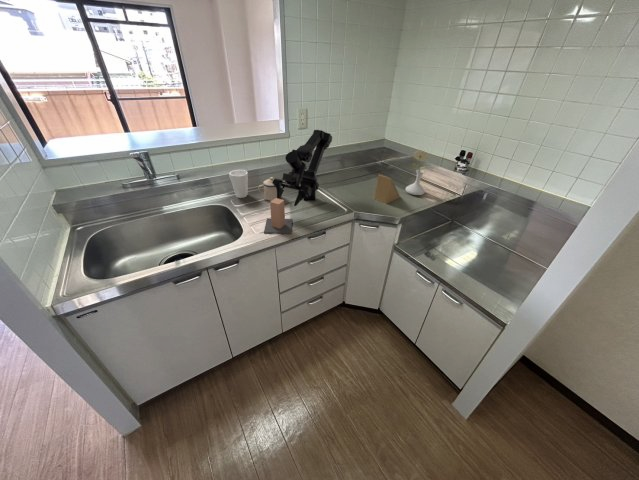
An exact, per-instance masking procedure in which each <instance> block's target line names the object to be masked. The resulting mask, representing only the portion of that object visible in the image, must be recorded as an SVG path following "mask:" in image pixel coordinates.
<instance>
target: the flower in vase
mask: <svg viewBox="0 0 639 480" xmlns="http://www.w3.org/2000/svg"><path fill="white" fill-rule="evenodd" d="M413 157H414V159H415V160H417V163H412V164H411V166H412V167H414V168H417V169H416V170H415V171H416V179H415V182H413V183H411V184H409V185H407V186H406V187H405V191H406V193H408V194H410V195H413V196H422V195H424V194H425V193H426V191H425V189H424V187H423V186H422V185H421V183H420V181H421V178H422V176H423V175H424V174H425V172H426V171H425V170H423V169H425V168H427V166H426V165H425V166H421V167H419V162H426V161H427V160H428V158H429V156H428V154H427V152H425V151H424V150H422V149H421V150H420V149H419V150H416V151H415V152H414V153H413Z"/></svg>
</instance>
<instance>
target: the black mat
mask: <svg viewBox="0 0 639 480" xmlns="http://www.w3.org/2000/svg"><path fill="white" fill-rule="evenodd" d="M292 221H293V219H292V218H285V225H284V226H283V227H282V228H281V229H279V228H276V227H272V224H271V218H266V221H265V225H264V231H263V234H271V233H281V235H282V234H285V235H287V234H288V235H289V234H290V235H291V234H292V224H293V222H292Z"/></svg>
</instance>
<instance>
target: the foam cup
mask: <svg viewBox="0 0 639 480" xmlns="http://www.w3.org/2000/svg"><path fill="white" fill-rule="evenodd" d="M228 176H229V179H230V181H231V185H232V188H233V191H234V194H235V197H236V198H238V199H241V198H243V199H244V198H245V197H247V196H248V186H249V185H248V184H249V183H248V182H249V181H248V180H249V179H248V178H249V173H248V171H247V170H244V169H233V170H231V171H229V173H228Z"/></svg>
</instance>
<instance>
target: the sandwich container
mask: <svg viewBox="0 0 639 480" xmlns="http://www.w3.org/2000/svg"><path fill="white" fill-rule="evenodd" d="M399 198H401V195H400V194H399V191H398V190H397V188H396V186H395V183H394V181H393V178H391V177H388V176H386V175H383V174H378V176H377V181H376V188H375V193H374V200H376V201H378V202H380V203H382V204H384V205H385V204H386V205H387V204H390V203H391V202H393V201H395V200H397V199H399Z"/></svg>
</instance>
